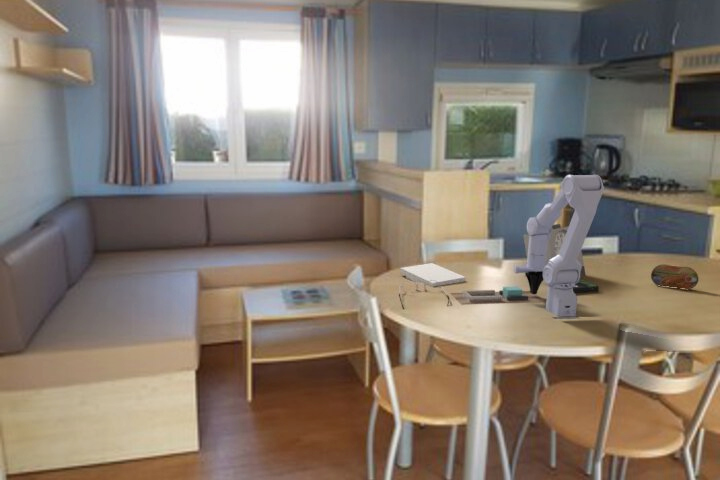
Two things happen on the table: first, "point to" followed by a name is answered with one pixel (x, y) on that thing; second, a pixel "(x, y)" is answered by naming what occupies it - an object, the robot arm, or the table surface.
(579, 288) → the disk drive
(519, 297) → the grey blocks
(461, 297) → the base board
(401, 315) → the table surface
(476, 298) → the grey slab
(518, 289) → the plug
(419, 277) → the white flat block
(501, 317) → the table surface
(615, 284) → the table surface
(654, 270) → the tin
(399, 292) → the eyeglasses
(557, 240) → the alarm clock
